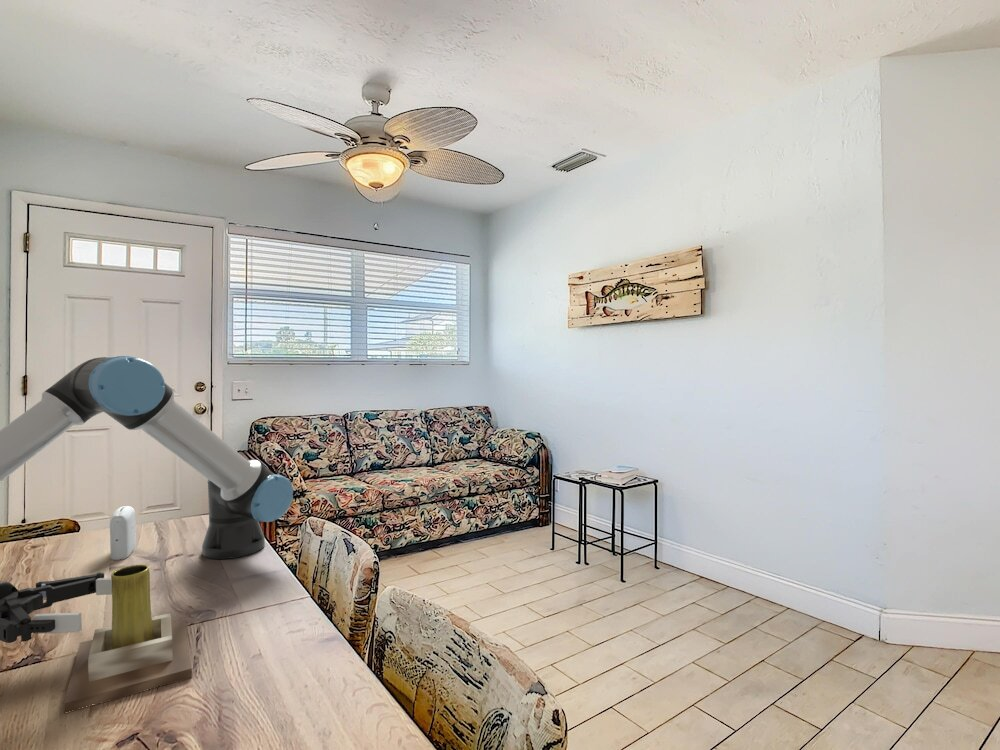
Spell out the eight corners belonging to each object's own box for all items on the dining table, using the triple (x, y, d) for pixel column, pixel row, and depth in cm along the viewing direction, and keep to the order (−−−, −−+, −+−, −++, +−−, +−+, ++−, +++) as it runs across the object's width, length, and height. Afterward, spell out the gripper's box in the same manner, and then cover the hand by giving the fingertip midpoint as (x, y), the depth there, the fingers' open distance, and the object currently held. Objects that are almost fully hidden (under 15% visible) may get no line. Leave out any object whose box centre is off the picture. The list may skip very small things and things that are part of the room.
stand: (185, 626, 103) (185, 600, 103) (191, 677, 86) (191, 646, 86) (80, 651, 94) (79, 623, 94) (64, 713, 77) (63, 679, 77)
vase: (163, 648, 92) (160, 565, 92) (128, 667, 86) (125, 579, 86) (137, 642, 94) (135, 561, 94) (101, 660, 88) (98, 575, 88)
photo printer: (128, 559, 139) (127, 511, 138) (108, 561, 137) (107, 513, 137) (138, 546, 148) (137, 501, 148) (119, 548, 147) (118, 503, 146)
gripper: (37, 596, 101) (154, 592, 102) (-106, 673, 76) (51, 667, 77) (36, 556, 101) (153, 553, 102) (-107, 620, 76) (50, 615, 77)
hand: (109, 602), depth 89 cm, fingers open, 13 cm apart
